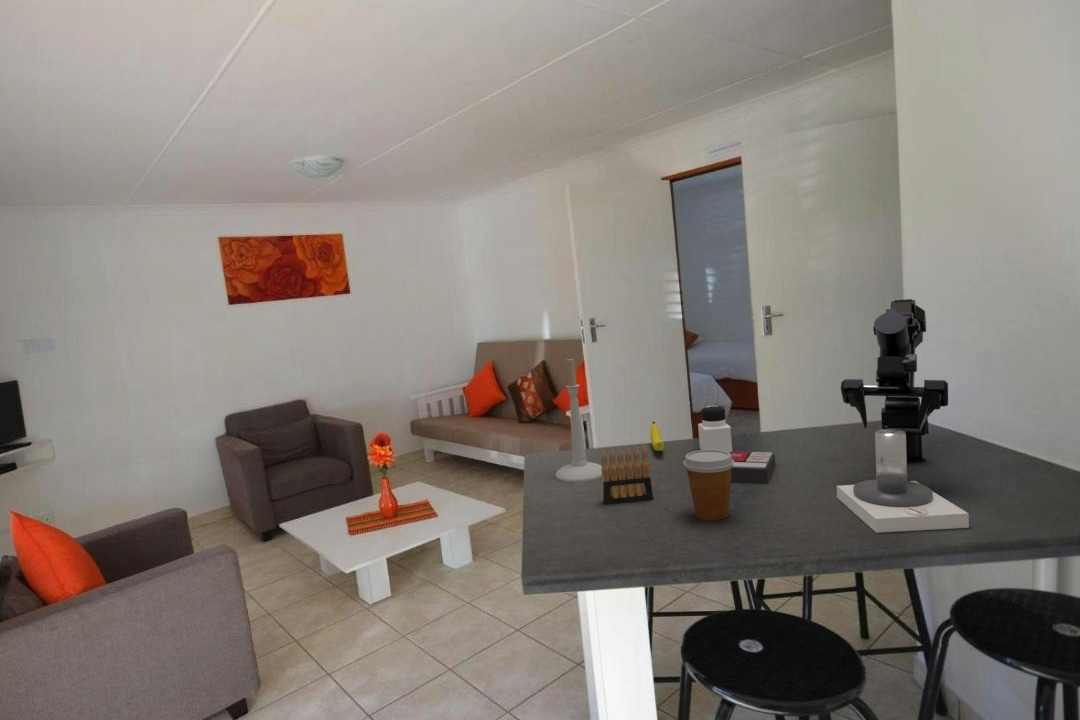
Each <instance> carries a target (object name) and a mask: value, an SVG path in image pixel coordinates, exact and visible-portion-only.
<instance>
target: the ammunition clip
mask: <svg viewBox="0 0 1080 720" xmlns="http://www.w3.org/2000/svg"><path fill="white" fill-rule="evenodd" d="M641 449H642V450H641V461H640V453H639V450H638V447H637V446H636V445H635V446H634V447H633V461H632V456H631V451H630V448H629V447H628V446H627V447H626V449H625V462H624V457H623V456H624V455H623V451H622V449H621V448H620V447H619V448H618V449H617V463H616V458H615V453H614V450H613V448H610V449H609V458H607V454H606V451H605V449H604V448H603V449H602V450H601V456H600V457H601V466H602V468H601V471H602V477H601V480H602V501H603V502H602V503H603V504H604V505H605V506H608V505H614V504H615V505H617V504H625V503H626V504H627V503H637V502H644V501H645V502H646V501H653V500H654V494H653V487H652V480H651V469H650V463H649V462H650V461H649V458H648V450H647V447H646V445H644V444H643V446H642V448H641ZM608 459H609V465H608ZM632 462H633V463H632Z"/></svg>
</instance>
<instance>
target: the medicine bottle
mask: <svg viewBox="0 0 1080 720" xmlns="http://www.w3.org/2000/svg"><path fill="white" fill-rule="evenodd" d="M726 420H727V419H726V409H725V408H724V407H723V406H720V405H708V406H705V407H703V408H702V409H701V421H702V422H701V423H698V424H697V427H698V441H699V449H700V450H721V451H726V452H728V453H729V452H730V451H733V436H732V435H733V434H732V427H731V426H730V425H729V424H728V423H726V422H727V421H726Z"/></svg>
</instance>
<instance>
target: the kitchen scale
mask: <svg viewBox="0 0 1080 720" xmlns="http://www.w3.org/2000/svg"><path fill="white" fill-rule="evenodd" d="M907 489H908V491H907V492H906V493H903V494H888V493H883V492H880V491H878V490H877V478H874V479H867V480H864V481H862V480H861V481H860V482H858V483H855V484H846V485H845V484H843V485H836V498H837V499H838V500H839V501H840V502H841V503H843V505H845V506H846V507H847V508H848V510H850V511H852V513H854V514H855V516H857V517H858V518H859V519H860V520H862V521H863V523H864V524H866V525H867V526H868V527H870V528H871V530H872V531H874V532H875V533H876V534H877V533H878V534H879V533H895V532H896V533H897V532H914V531H918V532H919V531H932V530H950V529H968V528H970V522H969V521H970V519H969V518H970V516H969V513H968V512H967V511H965V510H964V509H962V508H960V507H959V506H957V505H956V504H954V503H952V502H950V501H949V500H947V499H946V498H945V497H943V496H940V494H937V493H936V492H934V491H933V490H932V489H931V488H930V487H928V486H927V485H924V484H921V483H920V482H918V481H917V480H907Z"/></svg>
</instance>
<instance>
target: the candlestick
mask: <svg viewBox="0 0 1080 720" xmlns="http://www.w3.org/2000/svg"><path fill="white" fill-rule="evenodd" d="M565 362H566V372H567V373H566V374H567V382H568V385H565V388H566V389H567V393H568V394H569V397H570V399H569V404H570V405H569V407H570V428H571V429H570V431H571V451H572V452H571V453H572V454H571V455H572V461H571V463H569V464H566V465H563V466H562V467H560V468H559V469H558V470H557V471H556V472H555V478H556V479H557V480H559V481H561V482H566V483H585V482H591V481H594V480H597V479H602V471H601V468H602V464H598V463H595V462H591V461H588V459H587V454H586V448H585V447H586V445H585V441H584V434H583V433H584V432H583V427H582V426H583V425H582V420H581V413H580V406H579V399H578V397H577V396H578V393H579V389H578V388H579V387H580V384H577V377H576V376H577V375H576V367H575V366H576V365H575V358H568V359H565Z"/></svg>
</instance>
